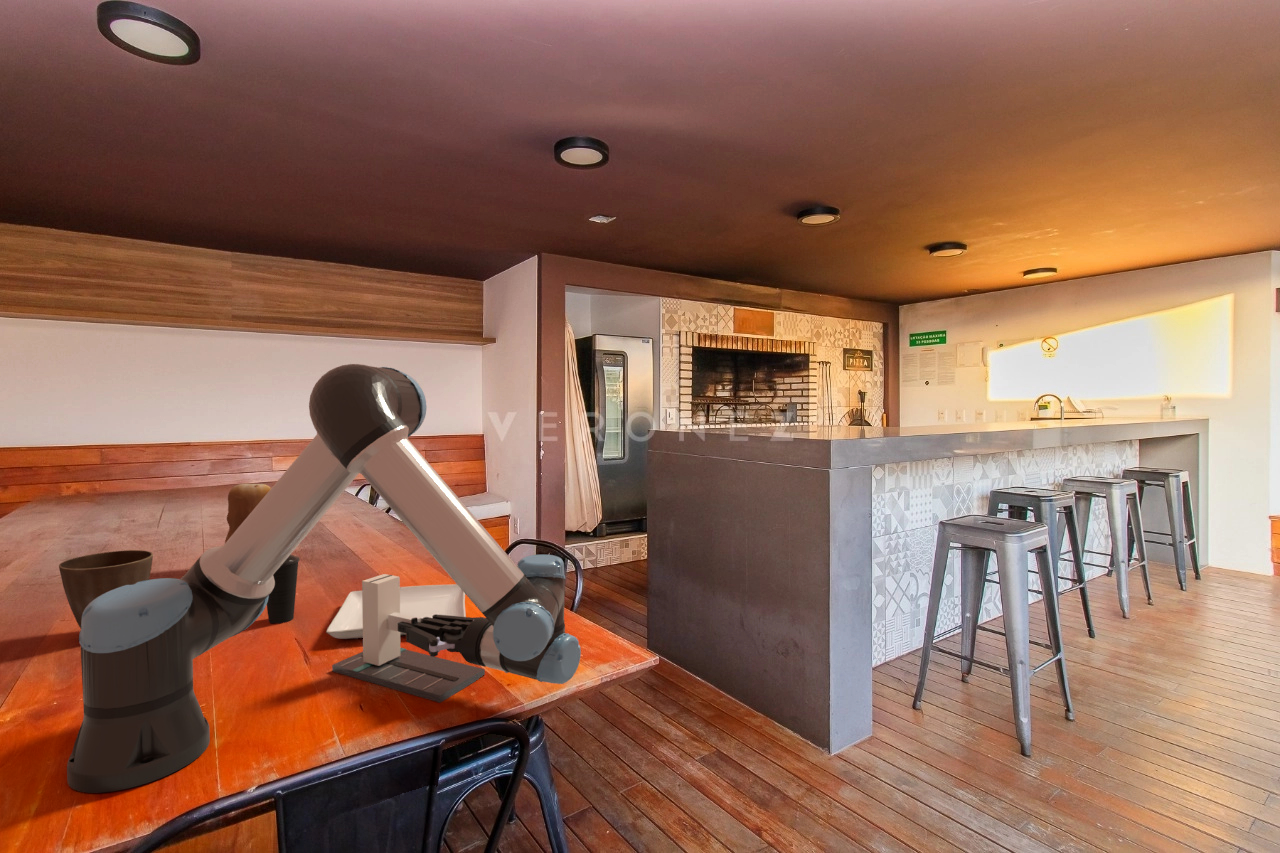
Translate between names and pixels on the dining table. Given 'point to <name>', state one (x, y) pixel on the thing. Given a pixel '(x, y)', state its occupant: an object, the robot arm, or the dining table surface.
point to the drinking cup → (283, 592)
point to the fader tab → (380, 618)
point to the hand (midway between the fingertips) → (391, 620)
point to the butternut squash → (243, 503)
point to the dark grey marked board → (413, 674)
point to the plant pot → (102, 575)
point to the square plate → (411, 603)
